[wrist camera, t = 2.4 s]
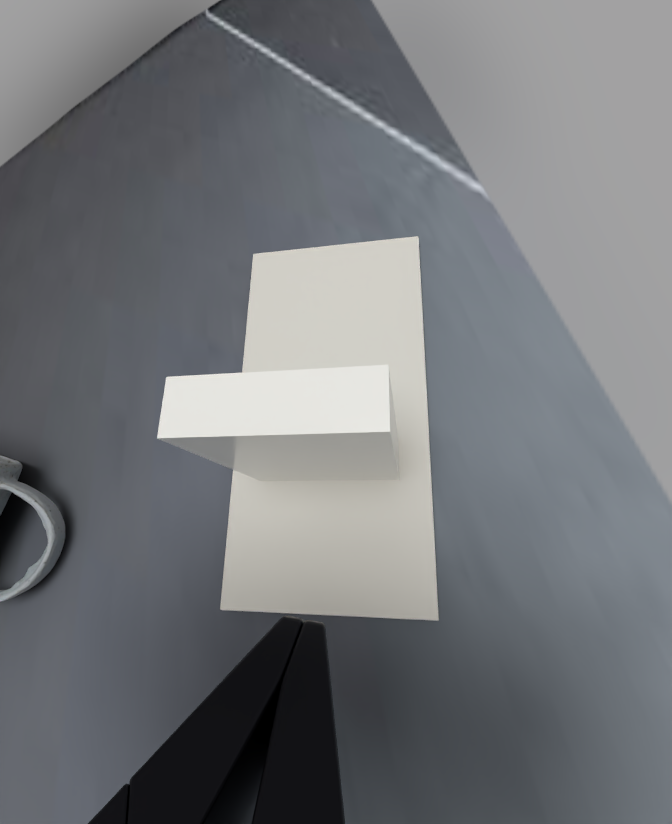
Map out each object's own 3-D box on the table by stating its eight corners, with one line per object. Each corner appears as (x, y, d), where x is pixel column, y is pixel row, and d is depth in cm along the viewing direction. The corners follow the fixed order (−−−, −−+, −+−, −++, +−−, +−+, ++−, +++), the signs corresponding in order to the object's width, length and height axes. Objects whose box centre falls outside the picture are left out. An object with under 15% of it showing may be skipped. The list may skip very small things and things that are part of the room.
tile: (399, 479, 20) (390, 431, 11) (260, 481, 21) (156, 438, 12) (398, 434, 20) (388, 356, 12) (263, 437, 22) (167, 369, 13)
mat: (437, 618, 18) (438, 620, 18) (224, 608, 20) (220, 610, 19) (418, 242, 24) (418, 236, 24) (256, 259, 26) (253, 253, 25)
